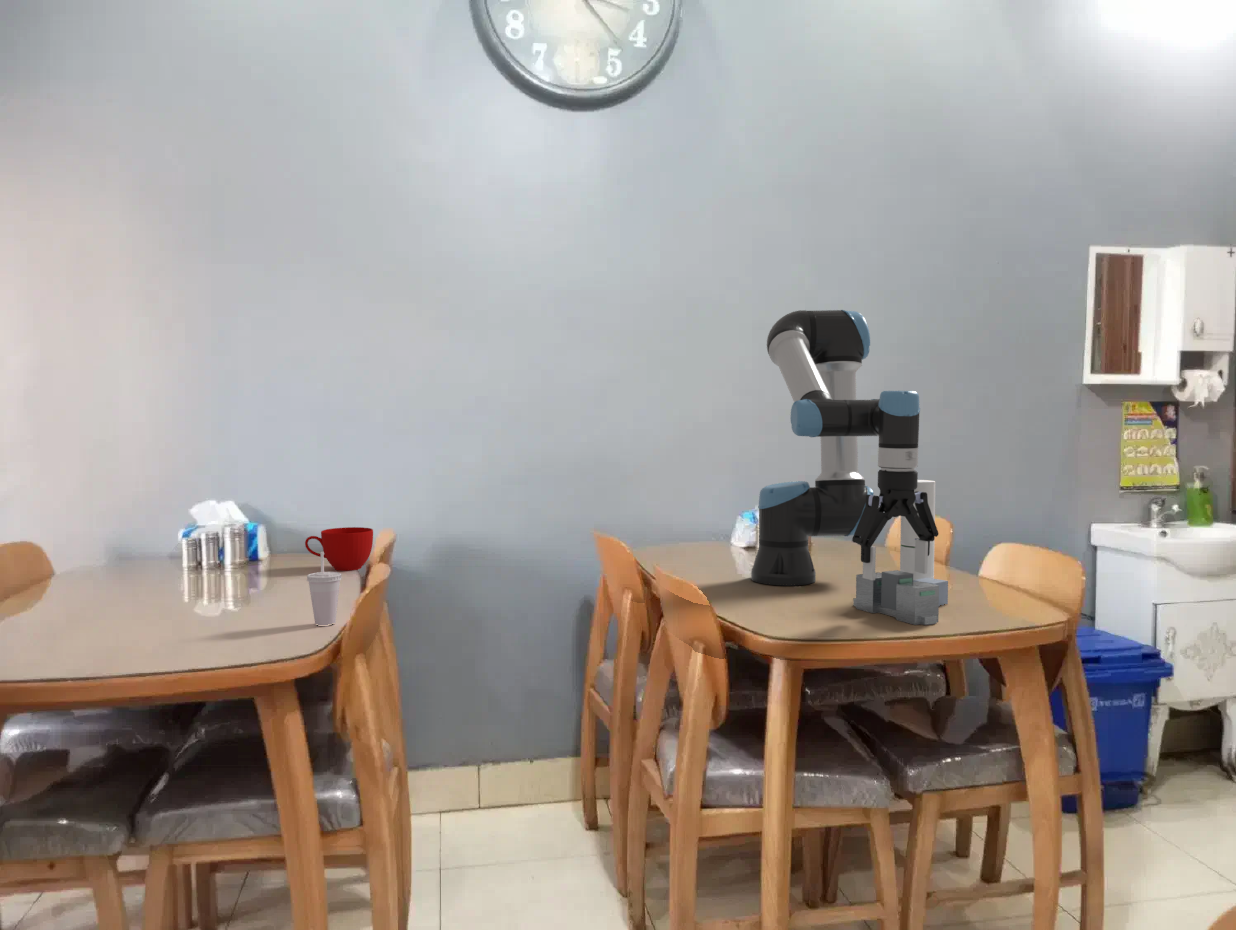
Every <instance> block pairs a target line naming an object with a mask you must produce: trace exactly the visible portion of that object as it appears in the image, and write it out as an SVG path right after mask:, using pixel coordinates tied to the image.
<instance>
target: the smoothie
mask: <svg viewBox="0 0 1236 930" xmlns="http://www.w3.org/2000/svg"><path fill="white" fill-rule="evenodd" d="M320 554H321V557H320V571H318V572H313V573H309V574H307V575H306V582H308V587H309V591H310V599H311V604H312V612H313V613H312V614H313V619H314V625H315V624H318V625H328V624H332V623H335V624H336V622H337V621H336V620H337V613H338V611H337V610H338V601H339V595H340V594H339V593H340V583H341V580H342V573H340V572H338V571H325V558H324V551H320Z"/></svg>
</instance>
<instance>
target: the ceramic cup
mask: <svg viewBox="0 0 1236 930" xmlns="http://www.w3.org/2000/svg"><path fill="white" fill-rule="evenodd" d="M320 536H321V537H319V536H317V535H316V536H315V535H310V536H309V537H307V538H306V539H305V542H304V545H305V549H306V550H307V551H308V552H309V553H311V554H312V555H314V556H316V557H320V558H321V553H318V552H316V551H314V550H312V549H311V548H310V546H309V543H308V542H309V541H310V540H316V541H318V542H319V543H320V544H321V546H322V552H324V559H326V560H327V562H328V563H329V564H330V566H332V568H333V569H334V570H336V571H342V572H345V571H347V572H348V571H349V572H351V571H358V570H360V569H362V567H363V566H364V565H365V564H366V562H367V561H368V559H369V558H370V556H371V553H372V549H373V543H374V529H373V528H369V527H359V526H357V527H356V526H354V527H353V526H352V527H351V526H350V527H349V526H348V527H335V528H328V529H323V530H321V532H320Z"/></svg>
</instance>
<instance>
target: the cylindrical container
mask: <svg viewBox="0 0 1236 930" xmlns="http://www.w3.org/2000/svg"><path fill="white" fill-rule="evenodd" d="M915 491H919V492H926V493H927V498H928V505H929V508H930V511H931V513H932V516H933V519H934V522H935V523H936V521H935V519H936V481H935V480H927V479H918V481H917V488H916V489H915V490H914V492H915ZM913 506H914V507H915V509H916V506H915V502H914V504H913ZM916 510H917V509H916ZM918 516H919V515H918ZM917 539H919V540H920V538H919V537H918V536H917V534H916V533H915V531H914V530H913V528H912V527H911V525H910V523H909V522H908V520H907V519H906V517H905V516H900V539H899V540H900V545H899V546H900V549H899V550H900V552H899V553H900V554H899V560H900V561H899V571H903V572H908V573H912V574H913V580H917V579H923V578H933V579H935V539H934V541H930V548H929V549H930V550H929V551H930V553H929V556H928V563H927V573H926V574H923V573H919V572H915V540H917Z"/></svg>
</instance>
